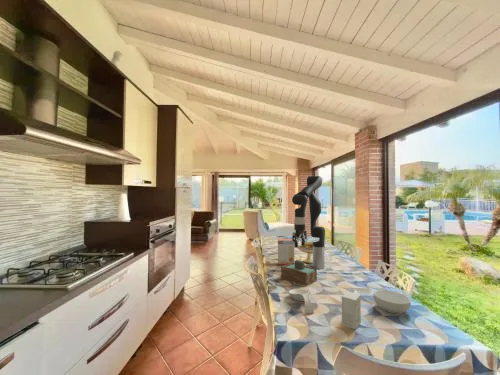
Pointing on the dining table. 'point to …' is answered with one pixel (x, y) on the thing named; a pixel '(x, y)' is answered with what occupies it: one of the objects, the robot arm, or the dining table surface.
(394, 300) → the cereal bowl
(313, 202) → the robot arm
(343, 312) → the small box
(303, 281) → the lid box
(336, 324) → the dining table surface
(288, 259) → the cracker box
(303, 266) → the cover plate
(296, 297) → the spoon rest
